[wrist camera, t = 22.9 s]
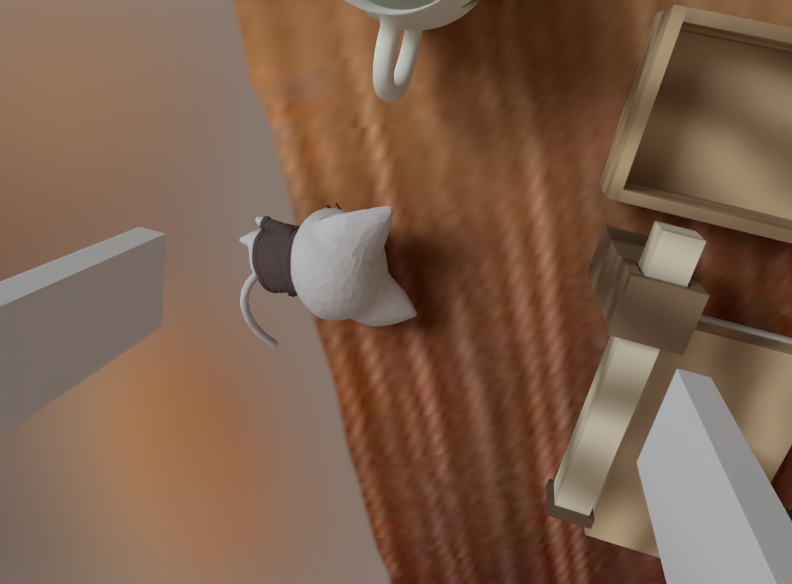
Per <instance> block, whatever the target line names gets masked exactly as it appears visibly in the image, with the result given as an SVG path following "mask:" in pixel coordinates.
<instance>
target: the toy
mask: <svg viewBox="0 0 792 584" xmlns="http://www.w3.org/2000/svg"><path fill="white" fill-rule="evenodd" d="M336 205H337V207H338V208H339V209H335V208H331V207H330V206H328V205H326V206H327V207H328V208H326V209H322V210H319V211H316V212H314V213H313V214H312V215H310V216H309V217H308V218H306V220H305V221H304V222H303V223H302V225H301V226H295V225H290V224H284V223H282V222H279V221H276V220H273V219H271V218H270V217H267V216H265V217H257V218H256V219H255V221H256V223H257V224H258V225H259V226H260V228H261V229H260V230H258V231H254V232H251V233H249V234H247V235H245V236H243V237H241V238H240V242H241V243H243V244H245V245H246V246H248V248H249V261H250V267H251V270H252V272H253V274H252V275H251V276H250V277H249V278H248V279H247V280H246V282H245V284H244V286H243V288H242V291H241V297H240V306H241V310H242V314H243V316H244V318H245V320H246V322H247V324H248V325H249V326H250V328H251V329H252V330H253V332H254V333H255V334H256V335H257V336H258V337H260V338H261V339H262V340H263V341H265V342H266V343H267V344H269V345H270V346H272V347H277V345H278V342H277V341H276V340H275V339H273V338H272V337H270V336H269V335H268V334H266V332H264V331H263V329H262V328H260V326H259V325H258V324H257V323H256V321H255V320H254V318H253V316H252V314H251V312H250V308H249V303H248V300H249V293H250V291H251V288H252V287H253V285H254V284H255V282H256V281H257V280H258V281H259V282H260V284H261V285H262V286H263V287H264V288H265V289H266V290H268V291H269V292H273V293H278V292H280V293H285V294H287V295H289V296H292V297H294V296H297V295H298V296H299V297H300V299H301V300H302V302H303V303H304V305H305V306H306V307H307V308H308V309H309V310H310V312H312V313H313V314H314V315H316V316H318V317H320V318H322V319H324V320H330V321H340V320H345V319H349V318H351V319H353V320H355V321H357V322H359V323H362V324H366V325H369V326H377V327H378V326H386V325H392V324H396V323H399V322H402V321H405V320H407V319H410V318H413V317H415V316H416V315H417V313H416V310H415V308H414V306H413V304H412V302H411V301H410V299H409V298H408V296H407V294H406V293H405V291H404V290H403V289H402V288H401V287H400V286H399V284H398V283H397V282H396V281H395V280H394V279H393V277H392V276H391V275H390V274H389V272H388V266H387V259H386V253H385V249H384V245H385V243H386V240H387V237H388V233H389V230H390V226H391V221H392V214H393V212H392V207H387V206H383V207H375V208H371V209H365V210H358V211H354V212H350V213H348V212H346V211H344V210H341V209H340V207H339V206H338V204H337V203H336Z"/></svg>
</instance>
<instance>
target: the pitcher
mask: <svg viewBox="0 0 792 584" xmlns="http://www.w3.org/2000/svg"><path fill="white" fill-rule="evenodd" d="M345 1H347V2H348V3H350V4H352V5H353V6H355V7H357V8H359V9H361V10H363V11H364V12H365V13H366V14H368V15H369V16H370V17H372V18H374V19H376V20H377V21H379V22H380V29H379V33H378V38H377V42H376V48H375V54H374V62H373V84H374V89H375V92H376V94H377V95H378V97H379V98H380V99H382V100H384V101H388V102H396V101H398V100H400V99H401V98H402V97H403V96H404V94H405V92H406V90H407V88H408V86H409V83H410V80H411V77H412V74H413V71H414V68H415V64H416V60H417V56H418V52H419V47H420V42H421V38H422V33H423V30H429V29H434V28H439V27H442V26H444V25H447V24H450V23H451V22H453V21H455V20H457V19H459V18H460V17H462V16H463V15H465V14H466V13H468V12H469V11H470V10H471V9H472V8H473V7H474V6H476V5H477V4H478V2H479V1H480V0H345ZM402 30H405V31H404V37H403V42H402V47H401V51H400V55H399V58H398V61H397V64H396V68H395V70H394V62H395V55H396V50H397V45H398V41H399V37H400V34H401V32H402Z"/></svg>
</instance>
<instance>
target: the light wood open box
mask: <svg viewBox="0 0 792 584" xmlns="http://www.w3.org/2000/svg"><path fill="white" fill-rule="evenodd" d="M598 184H599V186H600V187H601V189H602V191H603V193H604V194H605V196H606V198H607V199H612V200H616V201H620V202H624V203H628V204H632V205H636V206H640V207H644V208H648V209H652V210H657V211H661V212H665V213H669V214H673V215H677V216H681V217H685V218H689V219H693V220H698V221H702V222H706V223H710V224H714V225H718V226H722V227H726V228H730V229H734V230H739V231H743V232H747V233H751V234H755V235H759V236H763V237H767V238H771V239H775V240H779V241H784V242H788V243H792V28H791V27H786V26H781V25H776V24H771V23H766V22H761V21H756V20H751V19H746V18H741V17H736V16H731V15H726V14H721V13H716V12H711V11H706V10H701V9H696V8H691V7H686V6H681V5H676V4H674V5H672V6H670V7H668V8H666V9H664V10H662V11H660V12H658V13H656V14H655V17H654V20H653V23H652V26H651V29H650V32H649V35H648V38H647V41H646V43H645V46H644V49H643V52H642V55H641V58H640V61H639V64H638V67H637V70H636V73H635V76H634V79H633V82H632V85H631V88H630V91H629V94H628V97H627V100H626V103H625V105H624V108H623V111H622V114H621V117H620V120H619V123H618V126H617V129H616V132H615V135H614V138H613V141H612V144H611V147H610V150H609V153H608V156H607V159H606V162H605V165H604V167H603V170H602V173H601V176H600V179H599V182H598ZM648 237H649V236H646V235H642V234H638V233H634V232H630V231H626V230H622V229H618V228H614V227H610V226H606V225H605V226H604V229H603V231H602V234H601V237H600V240H599V243H598V246H597V248H596V251H595V254H594V257H593V260H592V263H591V265H590V268H589V271H588V273H589V277H590V281H591V285H592V288H593V292H594V296H595V299H596V303H597V307H598V311H601V312H602V313H603V316H604V320H605V323H606V327H607V331H608V334H609V335H610V336H614V337H618V338H621V339H625V340H629V341H632V342H636V343H640V344H643V345H647V346H650V347H654V348H658V349H661V350H665V351H669V352H672V353H676V354H680V355H684V353H685V351H686V348H687V346H688V344H689V342H690V339H691V337H692V335H693V333H694V330H695V328H696V326H697V324H698V321H699V319H700V317H701V315H702V312H703V310H704V308H705V306H706V303H707V301H708V299H709V297H710V296H709V294H708V293H707V292H706V290H705V289H704V288H703V287H702V285H701V284H700V283H699V282H698V280H697V279H696V278H697V275H696V274H695V272H693V274H692V276H691V279H690V281H689V283H688V286H687V287H686V286H682V285H678V284H674V283H670V282H667V281H663V280H659V279H655V278H651V277H647V276H643V275H641V273H640V271H639V269H638V267H637V266H638V263H639V261H640V258H641V256H642V253H643V250H644V248H645V245H646V243H647V240H648Z"/></svg>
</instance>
